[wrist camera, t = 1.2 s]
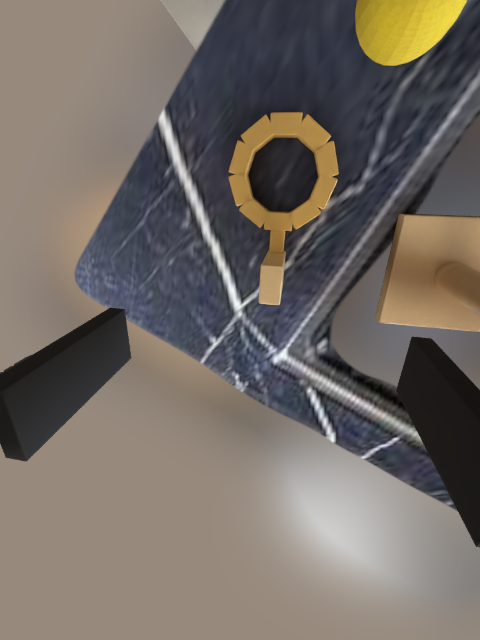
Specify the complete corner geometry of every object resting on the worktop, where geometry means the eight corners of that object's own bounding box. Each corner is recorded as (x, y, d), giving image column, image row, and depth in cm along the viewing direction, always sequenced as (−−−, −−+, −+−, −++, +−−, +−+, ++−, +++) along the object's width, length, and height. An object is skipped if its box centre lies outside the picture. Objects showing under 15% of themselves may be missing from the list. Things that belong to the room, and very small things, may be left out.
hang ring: (232, 116, 23) (212, 93, 18) (344, 116, 22) (360, 90, 16) (230, 279, 28) (214, 299, 23) (320, 286, 27) (326, 309, 22)
